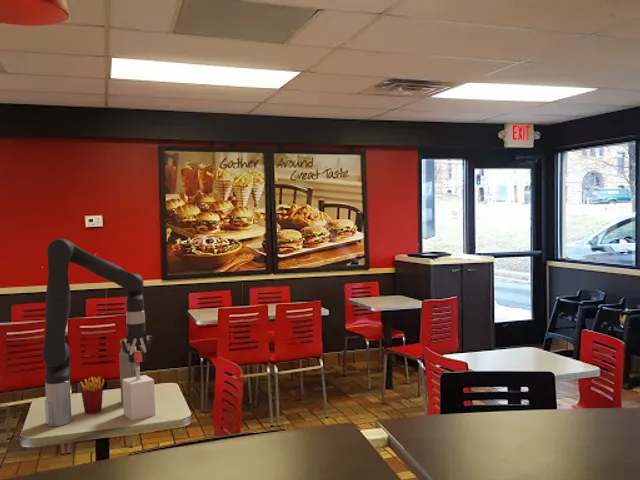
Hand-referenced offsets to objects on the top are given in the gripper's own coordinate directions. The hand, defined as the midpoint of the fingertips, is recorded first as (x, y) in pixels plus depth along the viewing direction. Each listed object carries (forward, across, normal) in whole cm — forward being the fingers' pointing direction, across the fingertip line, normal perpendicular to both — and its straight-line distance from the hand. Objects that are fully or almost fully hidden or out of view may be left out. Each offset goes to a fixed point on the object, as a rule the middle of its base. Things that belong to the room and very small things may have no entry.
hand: (137, 361), depth 252 cm
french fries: (+23, -14, +18) cm, 32 cm away
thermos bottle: (+23, +3, +20) cm, 30 cm away
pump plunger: (+16, 0, 0) cm, 16 cm away
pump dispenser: (+22, 0, 0) cm, 22 cm away
